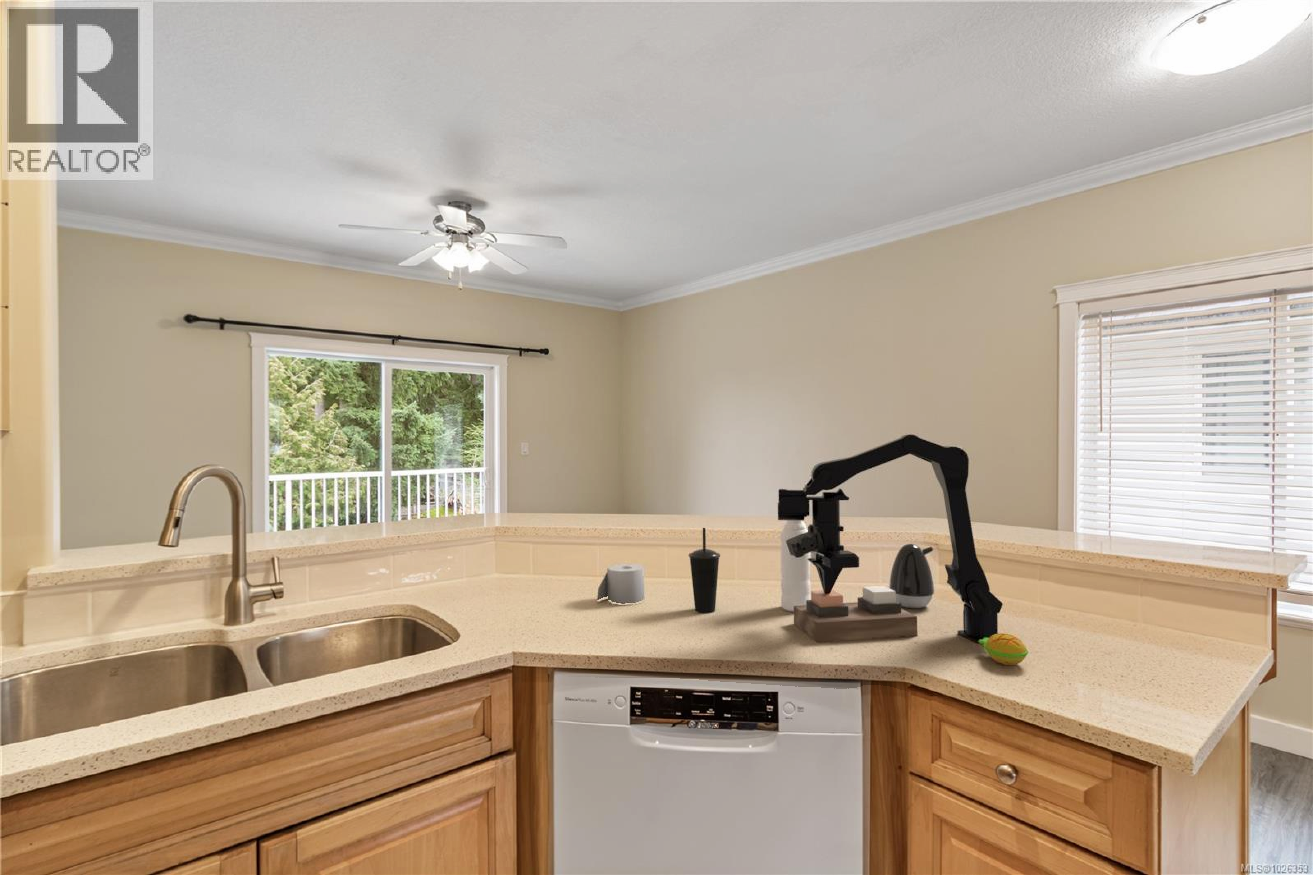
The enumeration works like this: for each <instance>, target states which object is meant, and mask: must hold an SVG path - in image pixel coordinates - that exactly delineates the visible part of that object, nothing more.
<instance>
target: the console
mask: <svg viewBox="0 0 1313 875" xmlns="http://www.w3.org/2000/svg"><path fill="white" fill-rule="evenodd" d="M793 625H794V626H796V627H798V628H799V629H800V630H801V631H803V632H804V633H805V634H807V635H808V637H810V638H811V639H813V640H814V641H815V642H816V643H826V642H828V641H829V642H840V641H842V642H843V641H856V640H871V639H872V638H875V639H887V638H886V637H890V638H900V637H899V636H905V637H915V636H916V637H917V636H918V616H917V615H916V614H915V615H914V613H910V612H909V611H907V610H905V609H903V608H902V606H901V603H899V602H897V601H896V603H888V604H872V603H870V602H868V601H866V600H864V599H863V596H858V597H857V601H854V602H843V606H836V607H819V606H817V605H815V604H814V603H812V602H811V600H806V605H800V606H794V612H793ZM872 640H873V639H872Z"/></svg>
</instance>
